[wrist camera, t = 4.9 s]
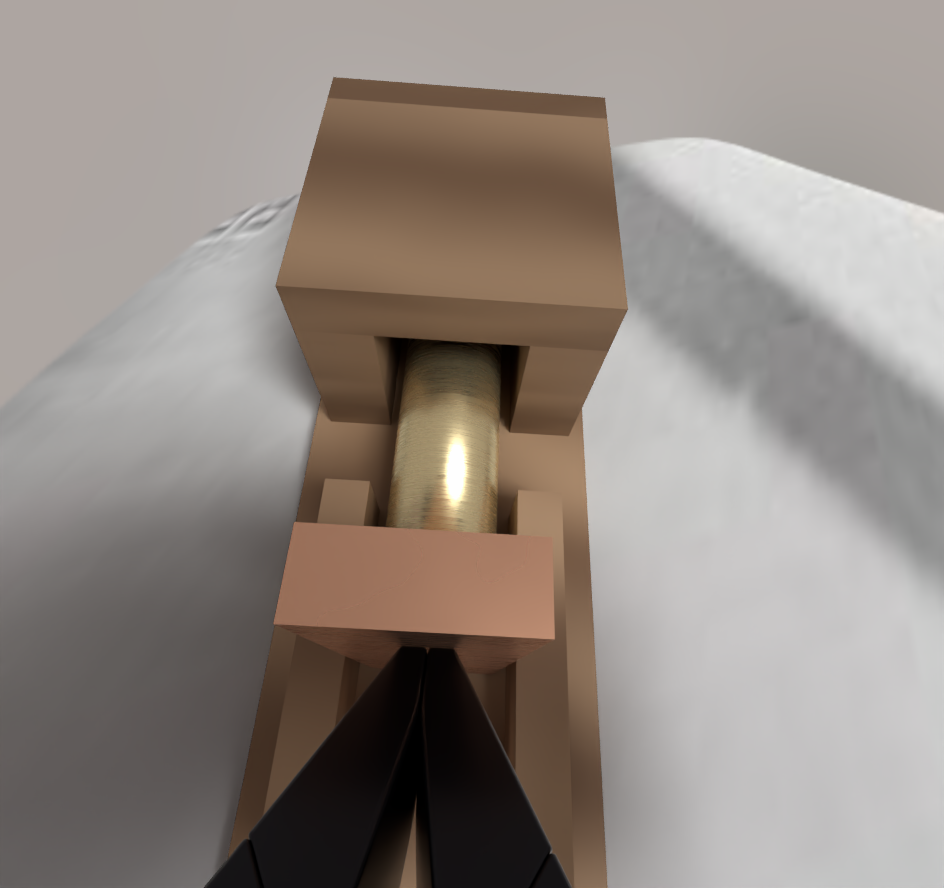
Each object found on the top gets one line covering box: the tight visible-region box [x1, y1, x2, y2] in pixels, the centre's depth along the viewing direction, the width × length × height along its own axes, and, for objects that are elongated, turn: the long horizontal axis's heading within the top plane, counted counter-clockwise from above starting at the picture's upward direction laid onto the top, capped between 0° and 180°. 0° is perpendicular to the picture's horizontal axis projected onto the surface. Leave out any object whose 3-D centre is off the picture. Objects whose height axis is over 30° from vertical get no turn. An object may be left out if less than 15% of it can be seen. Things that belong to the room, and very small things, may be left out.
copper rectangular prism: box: [273, 338, 555, 674], centre depth 13 cm, size 13×3×9 cm, turn 177°
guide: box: [227, 77, 628, 888], centre depth 14 cm, size 23×9×7 cm, turn 177°
